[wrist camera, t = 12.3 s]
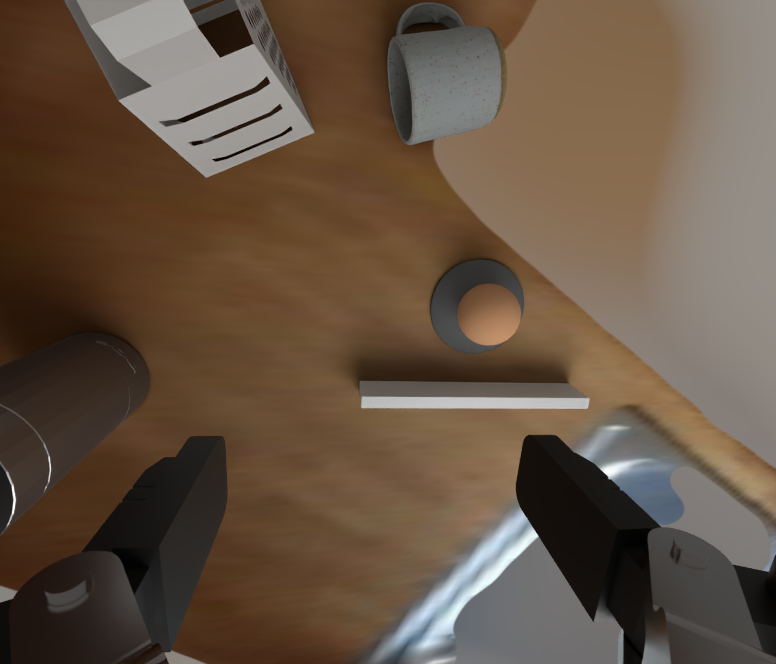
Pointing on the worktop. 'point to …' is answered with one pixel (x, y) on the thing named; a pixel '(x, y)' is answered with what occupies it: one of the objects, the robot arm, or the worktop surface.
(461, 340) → the pad
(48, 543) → the worktop surface
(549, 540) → the robot arm
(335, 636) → the worktop surface
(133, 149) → the worktop surface
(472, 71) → the ceramic mug
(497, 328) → the ball
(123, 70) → the grater
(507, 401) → the low wall
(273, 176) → the worktop surface
